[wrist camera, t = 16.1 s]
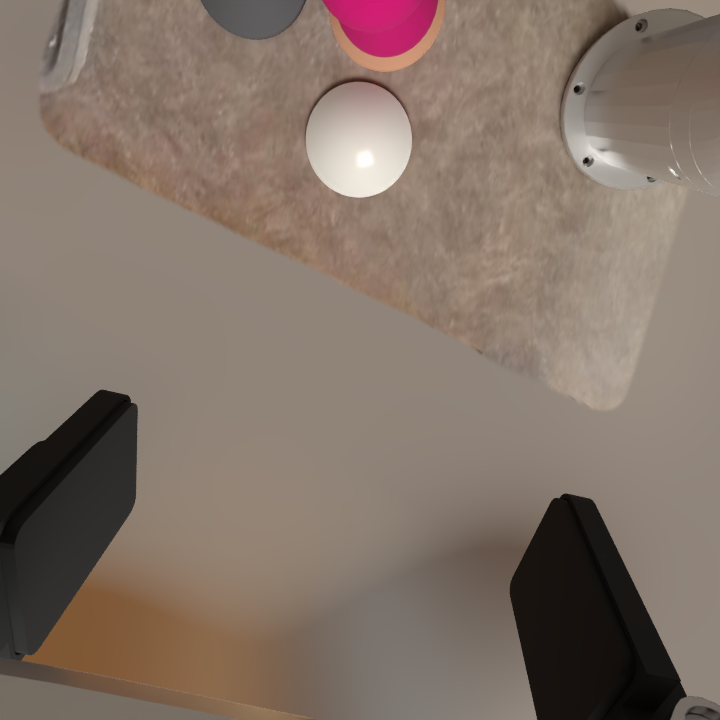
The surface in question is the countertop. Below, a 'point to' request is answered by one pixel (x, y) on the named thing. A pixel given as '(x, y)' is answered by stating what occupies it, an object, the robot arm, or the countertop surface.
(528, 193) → the countertop surface
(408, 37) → the pepper mill
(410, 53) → the peach oval dome
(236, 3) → the dark gray oval dome
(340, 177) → the cream oval dome
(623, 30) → the robot arm
